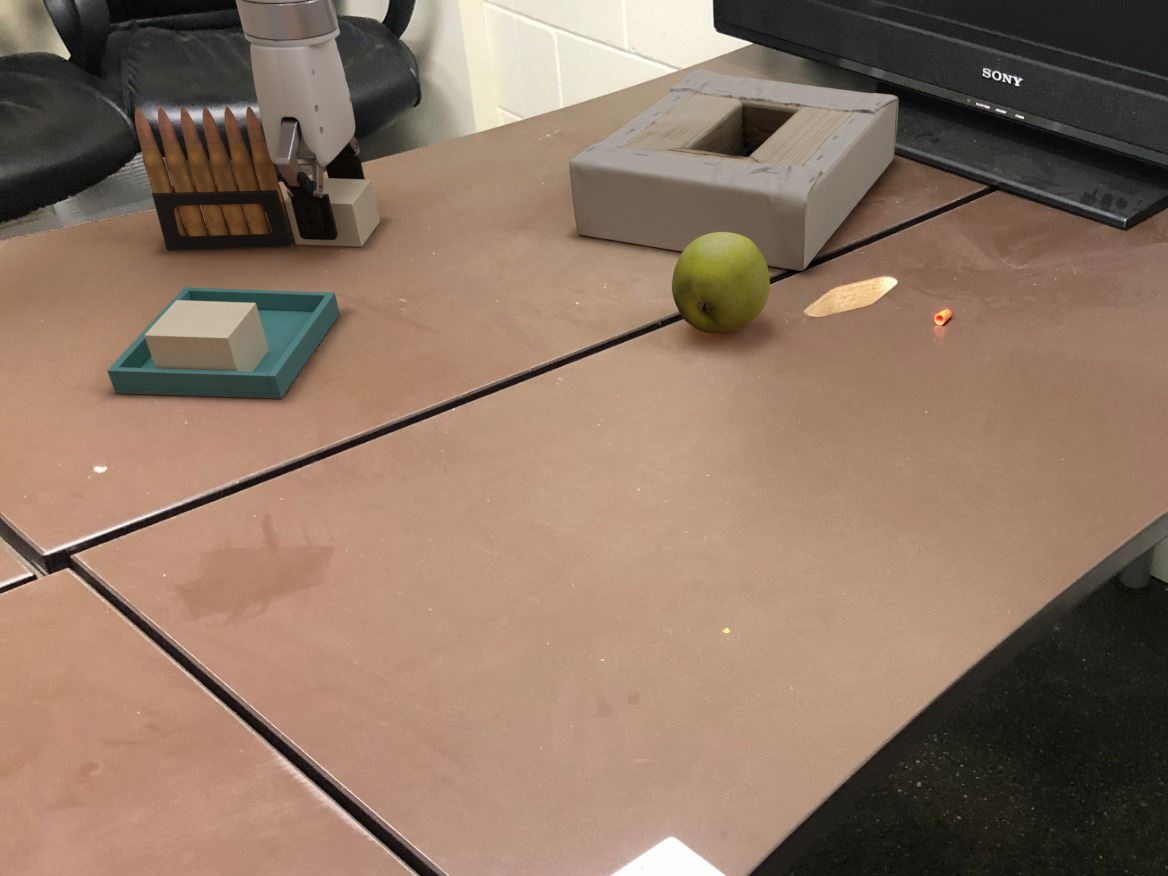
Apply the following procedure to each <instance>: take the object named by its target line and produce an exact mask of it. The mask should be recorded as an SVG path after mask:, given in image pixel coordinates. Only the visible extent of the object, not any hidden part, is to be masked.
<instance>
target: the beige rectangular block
mask: <svg viewBox="0 0 1168 876" xmlns="http://www.w3.org/2000/svg"><path fill="white" fill-rule="evenodd" d="M309 178H310V179H311V180H312V177H309ZM323 194H329V199H330V203H331V207H332V211H333V216H334V220H335V224H336V228H337V233H338V237H337V238H336V239H335V240H308V239H302V238H301V237H300V234H299V230H298V226H297V223H296V219H295V215H294V211H293V207H292V203H291V199H290V197H289V196H288V197H287V198H286V199H284V201H285V206H286V210H287V214H288V217H289V221H290V225H291V229H292V233H293V237H294V245H301V246H324V247H325V246H326V247H327V246H328V247H357V248H362V247H364V244H365V243H366V242H367V241H368V239H369V238H370V236H372V234H373V233H374V231H375V230H376V228H377V226H378V225H379V224H380V222H381V220H380V216H379V211H378V206H377V201H376V197H375V191H374V188H373V182H372V179H365V180H361V179H334V178H328V177H323Z"/></svg>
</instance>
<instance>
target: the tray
mask: <svg viewBox="0 0 1168 876" xmlns="http://www.w3.org/2000/svg"><path fill="white" fill-rule="evenodd" d="M176 300H187V301H215V302H244V303H256V305H257V309H258V312H259V316H260V320H261V323H262V327H263V330H264V334H265V337H266V341H267V344H268V348H269V351H268V353H267V354H266V355H265V357H264V358H263V359H262V361H261V362H260V363H259V365H258V366H257V367H256V369H255V370H254V371H253V372H247V371H217V370H186V369H156V368H155V365H154V362H153V359H152V356H151V353H150V350H149V347H148V344H147V341H146V339H145V334H146V333H147V332H148V331H149V330H150V328H151V327H152V326H153V325H154V324H155V323H156V322H157V321H158V320H159V319H160V318H161V316H162V315H163V314H164V313H165V312H166V311H167V310H168V309H169V308H170V307H171V306H172V304H173V303H174V302H175V301H176ZM339 308H340V307H339V305H338V300H337V296H336V292H333V291H331V292H330V291H327V292H326V291H323V292H322V291H299V290H273V289H272V290H271V289H248V288H247V289H246V288H218V287H215V288H214V287H211V288H210V287H190V286H189V287H188V286H187V287H186V286H185V287H183V288H182V289H181V290H180V291H179V292H178V293H177V295H175V297H174V298H173V299H172V300H171V301H170V302H169V303H168V304H167V305H166V306H165V307H164V308H163V310H162V311H161V312H160V313H159V314H158V315H157V316H156V317H155V318H154V319H153V320H152V321H151V323H150V324H148V326H147V327H146V328H145V329H144V330H143V331H142V332H141V333H140V334H139V335H138V336H137V338H136V339H135V340H134V341H133V342H132V343H131V344H130V345H129V346H128V347H127V348H126V349H125V351H124V352H123V353H122V354H121V355H120V356H119V357H118V358H117V359H116V360H115V361H114V363H113V364H111V365H110V367H109V368H108V369H107V374H108V377H109V380H110V382H111V385H112V387H113V391H114V393H115V394H121V395H122V394H126V395H150V396H151V395H155V396H182V397H183V396H185V397H187V396H188V397H218V398H247V399H249V398H250V399H276V400H277V399H278V400H279V399H281V400H282V398H283V397H284V396H285V394H286V393H287V392H288V390H289V388H290V387H291V386H292V384H293V382H294V381H295V380H296V379H297V377H298V375H299V374H300V373H301V371H302V370H303V368H304V366H305V365H307V362H308V361H309V359H310V358H311V357H312V355H313V354H314V352H315V351H316V349H317V348H318V347H319V345H320V344H321V342H322V341H323V339H324V338H325V336H326V335H327V333H328V331H330V329H331V328H332V326H333V324H334V323H335V321H336V320H337V319H338V317H339V316H340V315H341V313H340V309H339Z"/></svg>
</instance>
